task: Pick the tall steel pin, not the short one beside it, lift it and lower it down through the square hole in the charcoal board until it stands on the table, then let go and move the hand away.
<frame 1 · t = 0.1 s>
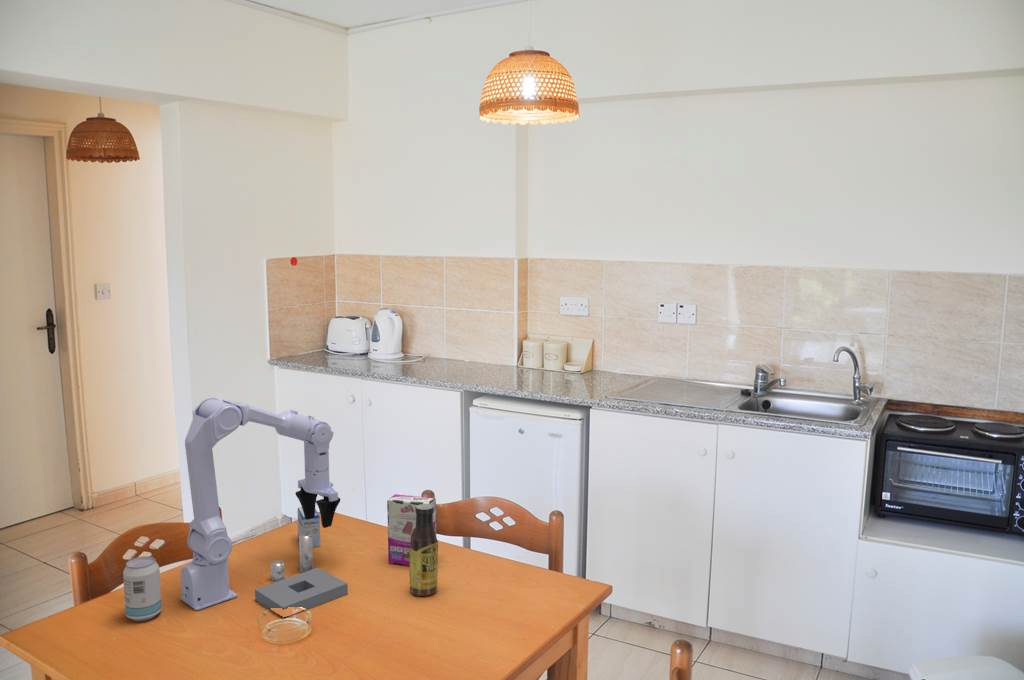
hand: (318, 522, 195), 10 cm above the table, tool pointing down, fingers open, 7 cm apart
beverage can: (144, 616, 169), on the table
short pin: (278, 579, 187), on the table
hole board: (301, 597, 178), on the table
medicine box: (309, 543, 209), on the table
candy bar box: (412, 563, 197), on the table
sauce bottle: (424, 592, 181), on the table
tall pin: (306, 571, 191), on the table
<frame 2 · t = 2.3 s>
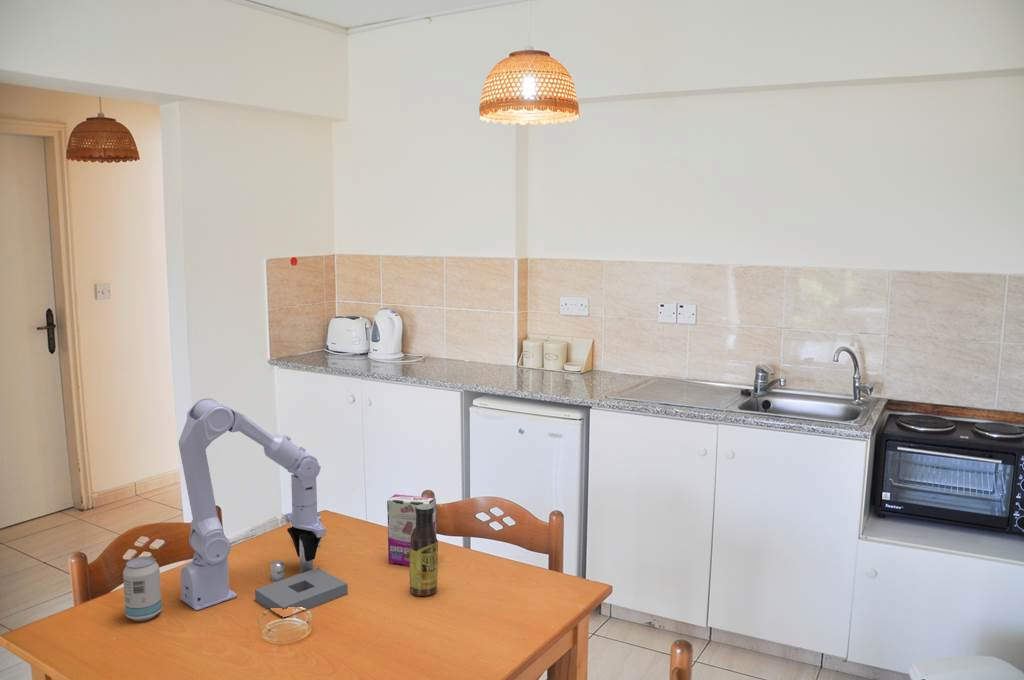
hand: (306, 557, 191), 3 cm above the table, tool pointing down, fingers closed on tall pin, 3 cm apart
tall pin: (306, 571, 191), on the table, touching gripper
everything else where it was.
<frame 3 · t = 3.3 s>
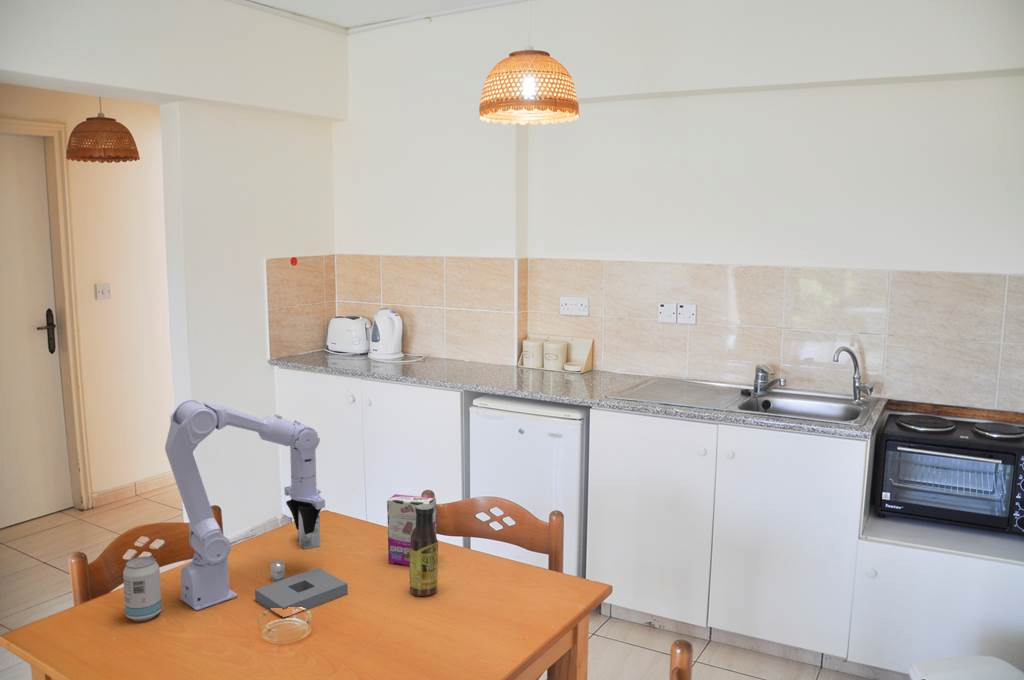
hand: (305, 530, 190), 10 cm above the table, tool pointing down, fingers closed on tall pin, 3 cm apart
tall pin: (305, 544, 190), point 7 cm above the table, touching gripper
everything else where it was.
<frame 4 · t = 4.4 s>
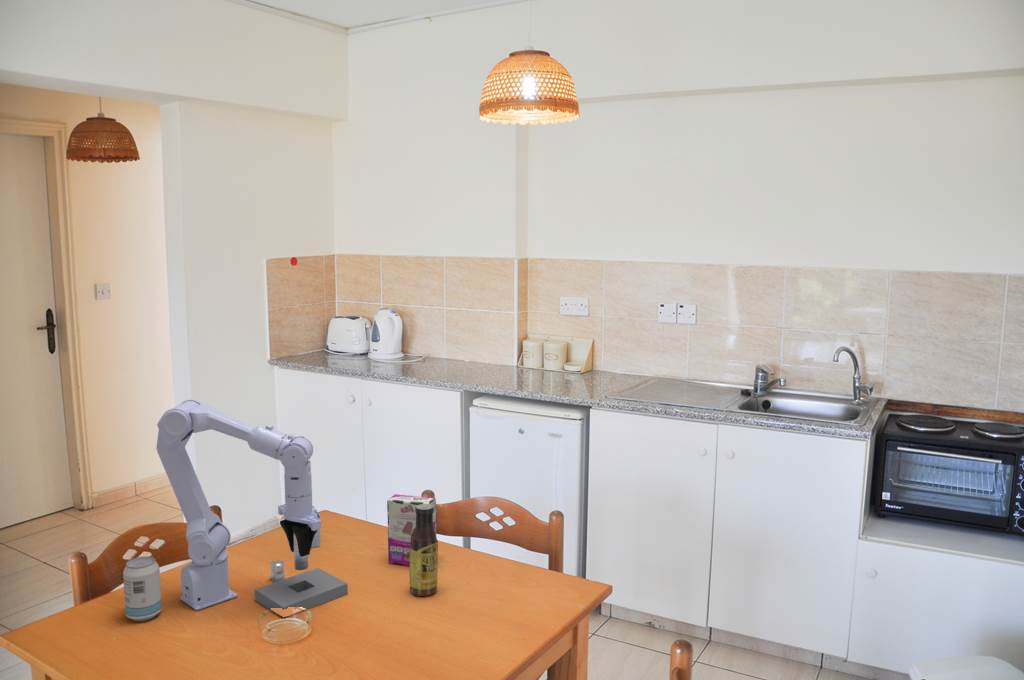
hand: (300, 552, 177), 10 cm above the table, tool pointing down, fingers closed on tall pin, 3 cm apart
tall pin: (301, 567, 177), point 7 cm above the table, touching gripper
everything else where it was.
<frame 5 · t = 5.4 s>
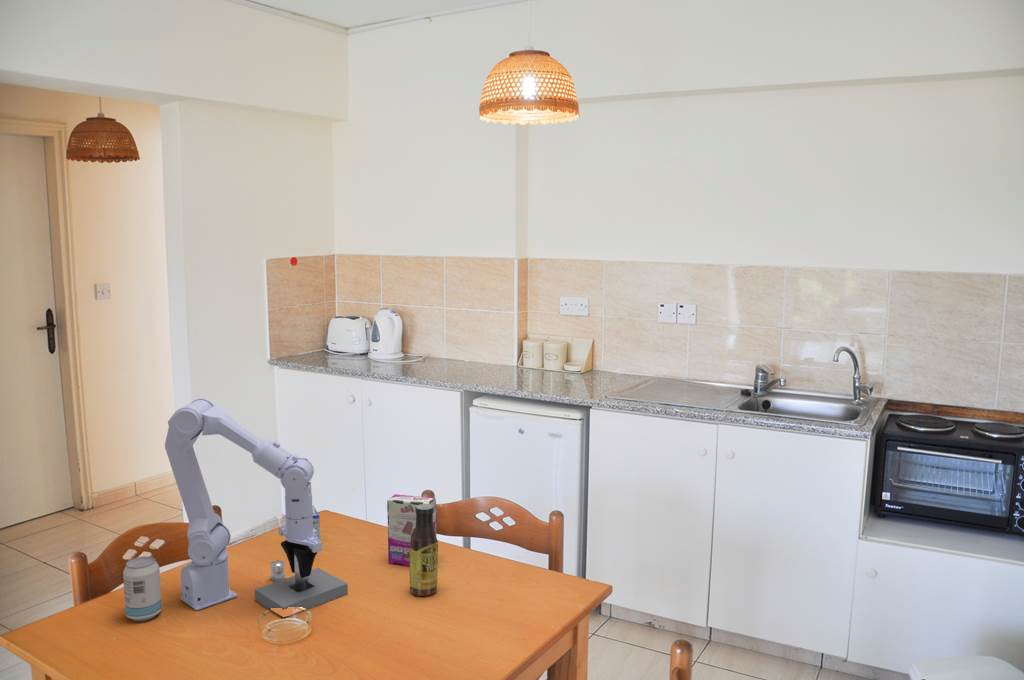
hand: (301, 573, 177), 5 cm above the table, tool pointing down, fingers closed on tall pin, 3 cm apart
tall pin: (302, 588, 178), point 2 cm above the table, touching gripper
everything else where it was.
when the fingers open (4 cm above the table, at t = 6.4 s): tall pin stays where it is, resting in hole board.
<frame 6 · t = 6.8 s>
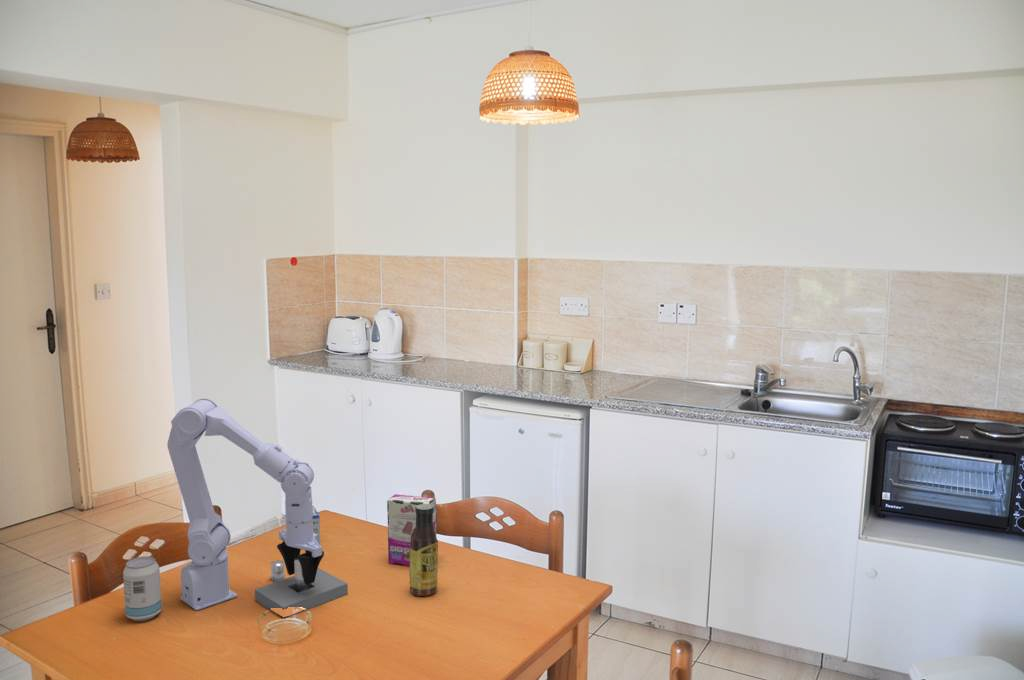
hand: (301, 578, 177), 4 cm above the table, tool pointing down, fingers open, 6 cm apart
tall pin: (302, 596, 178), resting in hole board
everything else where it was.
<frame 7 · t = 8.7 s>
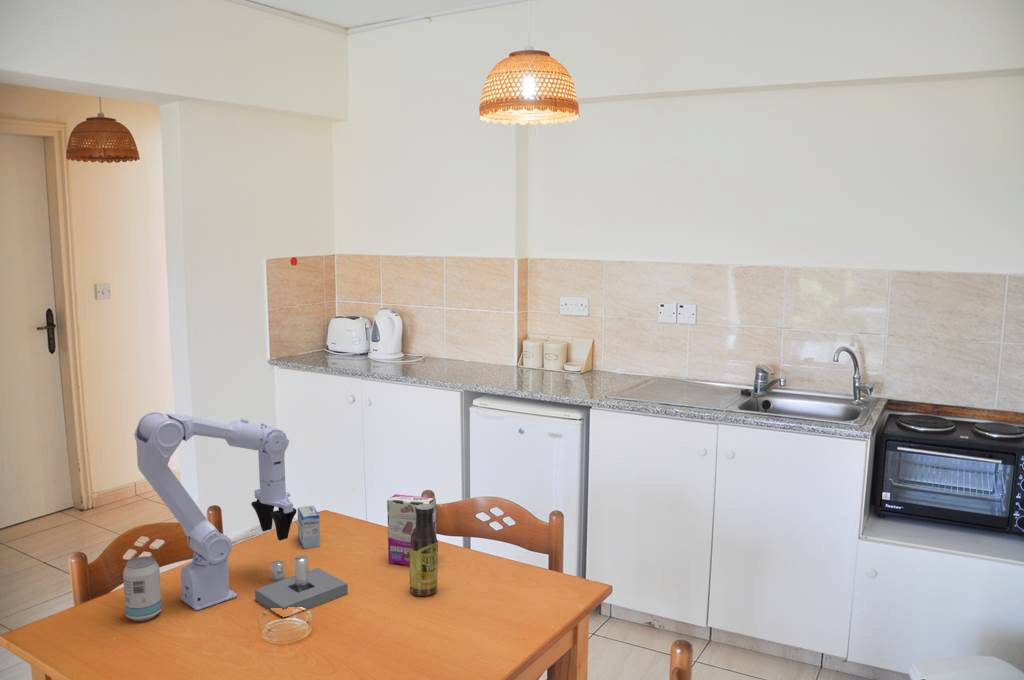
hand: (274, 534, 187), 10 cm above the table, tool pointing down, fingers open, 7 cm apart
nothing on the table moved.
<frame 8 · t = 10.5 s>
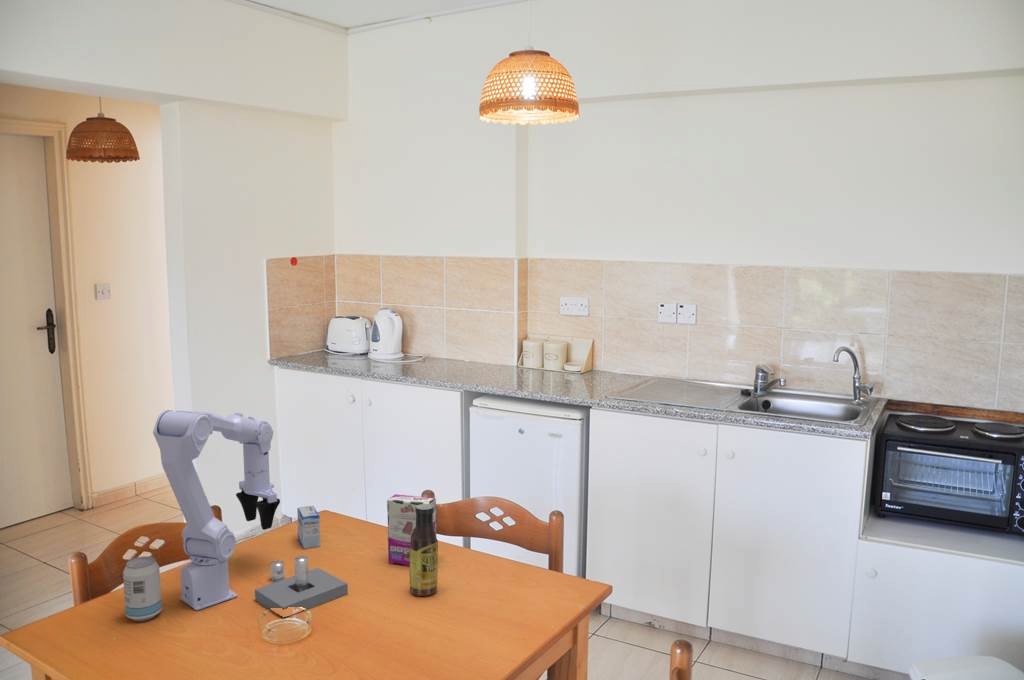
hand: (258, 524, 193), 10 cm above the table, tool pointing down, fingers open, 7 cm apart
nothing on the table moved.
at the end: tall pin 0.1 cm off-centre on the hole board, point 0.0 cm above the hole board's base; tall pin tilted 0°; short pin moved 0.0 cm from its start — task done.
